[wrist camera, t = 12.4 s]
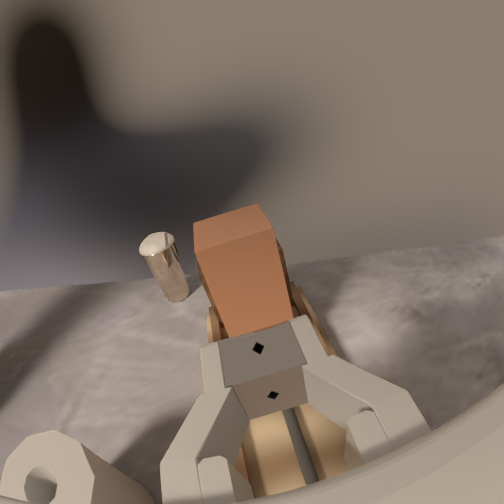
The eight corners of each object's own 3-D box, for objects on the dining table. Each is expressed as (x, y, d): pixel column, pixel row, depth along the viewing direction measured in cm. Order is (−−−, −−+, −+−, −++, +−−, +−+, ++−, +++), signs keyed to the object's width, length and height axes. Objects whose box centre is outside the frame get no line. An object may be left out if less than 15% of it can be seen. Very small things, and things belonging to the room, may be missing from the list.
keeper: (299, 346, 27) (273, 227, 21) (240, 364, 27) (194, 252, 21) (284, 312, 32) (257, 203, 26) (232, 328, 31) (193, 223, 25)
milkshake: (182, 311, 38) (150, 243, 33) (157, 301, 41) (126, 238, 36) (205, 289, 41) (179, 222, 36) (179, 281, 44) (153, 219, 39)
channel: (414, 519, 12) (450, 496, 8) (254, 571, 12) (211, 574, 8) (301, 294, 36) (289, 232, 31) (209, 323, 35) (183, 264, 31)
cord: (341, 543, 12) (341, 542, 11) (327, 547, 12) (326, 547, 11) (261, 314, 33) (259, 308, 32) (253, 317, 33) (251, 311, 32)
